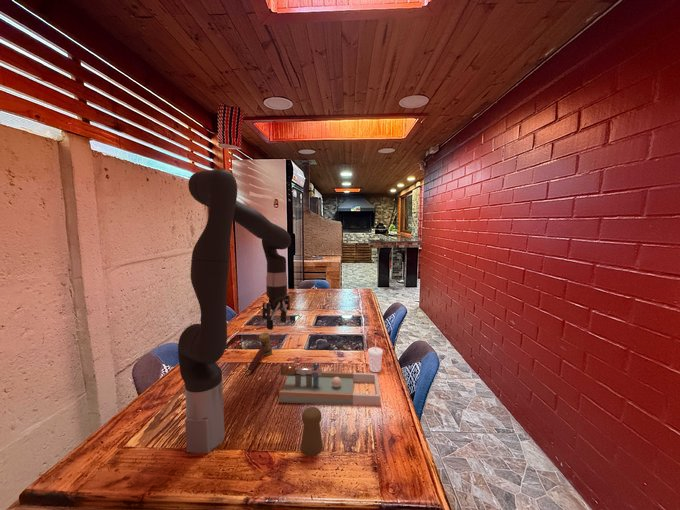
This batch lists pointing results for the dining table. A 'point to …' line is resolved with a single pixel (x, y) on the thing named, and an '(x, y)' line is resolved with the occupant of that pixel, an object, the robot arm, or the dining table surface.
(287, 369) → the rod
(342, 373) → the pitch board
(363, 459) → the dining table surface
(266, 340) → the gavel
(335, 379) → the ball
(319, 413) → the pepper mill
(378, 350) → the beverage cup
